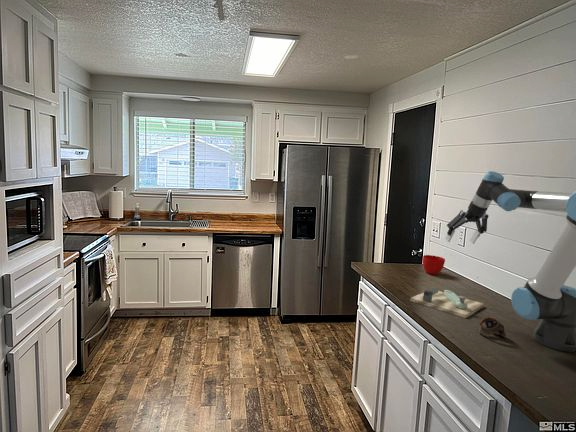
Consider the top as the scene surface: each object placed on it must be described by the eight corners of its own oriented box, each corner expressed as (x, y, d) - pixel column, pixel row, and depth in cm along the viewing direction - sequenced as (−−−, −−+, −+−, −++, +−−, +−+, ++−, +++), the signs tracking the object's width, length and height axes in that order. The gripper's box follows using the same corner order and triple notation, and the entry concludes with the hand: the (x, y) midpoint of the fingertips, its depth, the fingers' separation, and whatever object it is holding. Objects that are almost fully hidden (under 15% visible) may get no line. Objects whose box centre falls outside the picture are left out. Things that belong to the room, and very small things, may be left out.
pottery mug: (511, 343, 157) (506, 326, 154) (486, 349, 159) (481, 333, 156) (499, 323, 168) (494, 307, 165) (475, 330, 170) (470, 314, 168)
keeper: (437, 298, 198) (438, 289, 198) (428, 302, 191) (430, 293, 190) (431, 296, 200) (432, 287, 200) (422, 300, 193) (424, 291, 192)
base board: (483, 306, 197) (485, 293, 196) (465, 318, 178) (467, 303, 177) (431, 291, 214) (433, 279, 213) (410, 300, 195) (411, 287, 195)
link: (468, 309, 185) (469, 305, 184) (457, 308, 185) (458, 304, 185) (451, 294, 206) (452, 290, 206) (441, 293, 206) (442, 289, 206)
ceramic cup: (445, 272, 260) (448, 257, 259) (440, 277, 246) (442, 261, 244) (425, 268, 267) (427, 253, 265) (418, 272, 252) (420, 257, 251)
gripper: (498, 201, 190) (477, 238, 201) (451, 197, 184) (433, 234, 195) (507, 210, 184) (486, 247, 195) (460, 206, 178) (440, 244, 189)
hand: (459, 241), depth 195 cm, fingers open, 13 cm apart
